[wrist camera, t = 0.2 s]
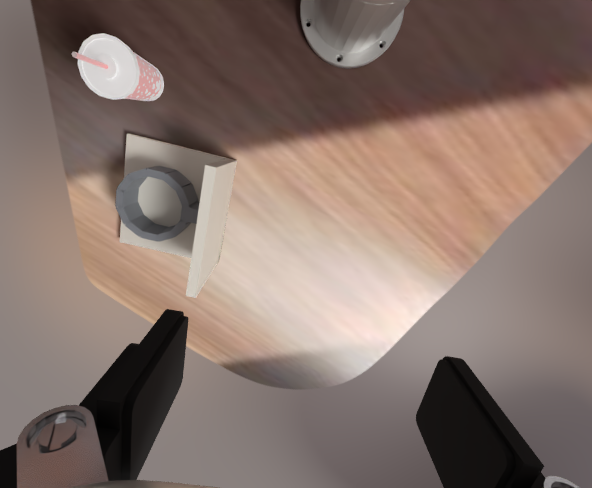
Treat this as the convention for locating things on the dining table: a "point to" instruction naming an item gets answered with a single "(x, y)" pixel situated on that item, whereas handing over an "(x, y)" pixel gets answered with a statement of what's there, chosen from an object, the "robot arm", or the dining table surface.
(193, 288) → the bracket
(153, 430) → the robot arm
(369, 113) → the dining table surface
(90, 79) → the beverage cup
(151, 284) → the dining table surface
